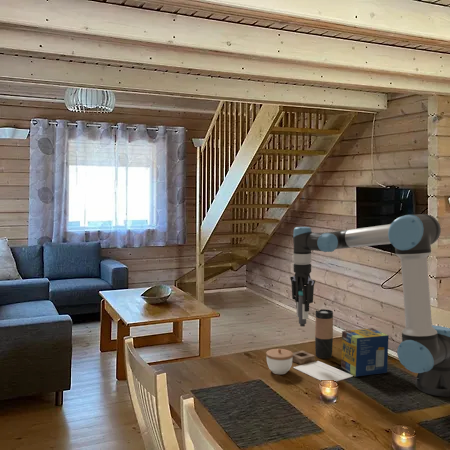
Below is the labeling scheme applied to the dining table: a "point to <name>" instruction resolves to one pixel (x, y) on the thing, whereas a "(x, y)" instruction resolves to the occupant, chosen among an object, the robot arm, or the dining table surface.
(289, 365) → the lidded jar
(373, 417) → the dining table surface
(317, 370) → the paper
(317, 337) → the travel mug
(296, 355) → the pen holder
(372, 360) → the protein box
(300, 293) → the marker
